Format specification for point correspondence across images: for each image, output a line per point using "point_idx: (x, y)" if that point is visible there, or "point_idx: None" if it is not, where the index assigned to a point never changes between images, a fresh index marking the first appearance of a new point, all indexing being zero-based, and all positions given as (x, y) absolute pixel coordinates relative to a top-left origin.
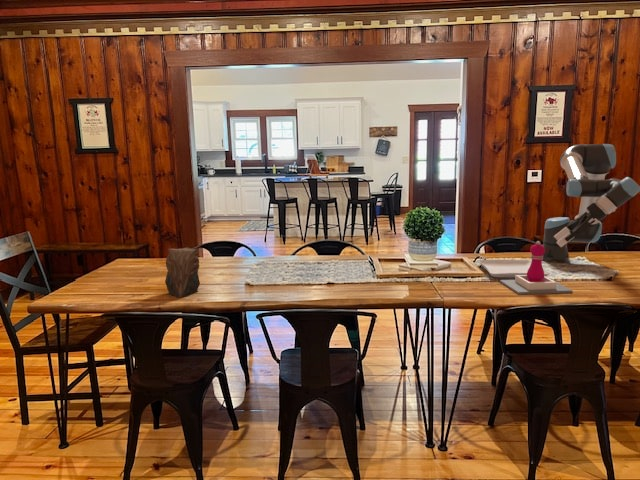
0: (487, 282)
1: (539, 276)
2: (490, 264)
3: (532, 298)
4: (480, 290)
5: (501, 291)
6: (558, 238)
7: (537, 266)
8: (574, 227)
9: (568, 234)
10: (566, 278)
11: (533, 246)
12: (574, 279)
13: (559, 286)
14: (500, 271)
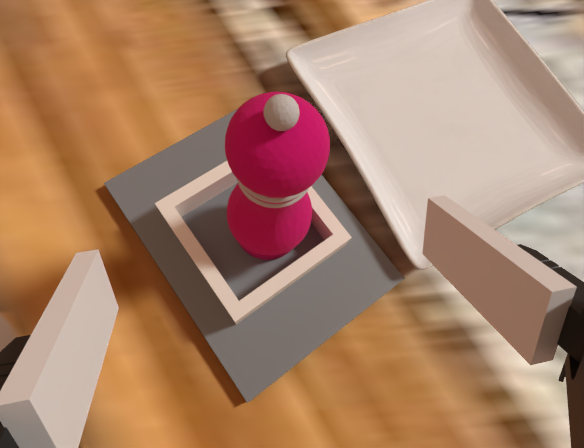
0: (231, 64)
1: (234, 233)
2: (483, 36)
3: (70, 246)
4: (102, 59)
5: (123, 125)
6: (434, 248)
7: (243, 201)
8: (574, 428)
9: (12, 384)
10: (491, 346)
11: (249, 101)
12: (498, 384)
13: (289, 334)
14: (413, 83)
